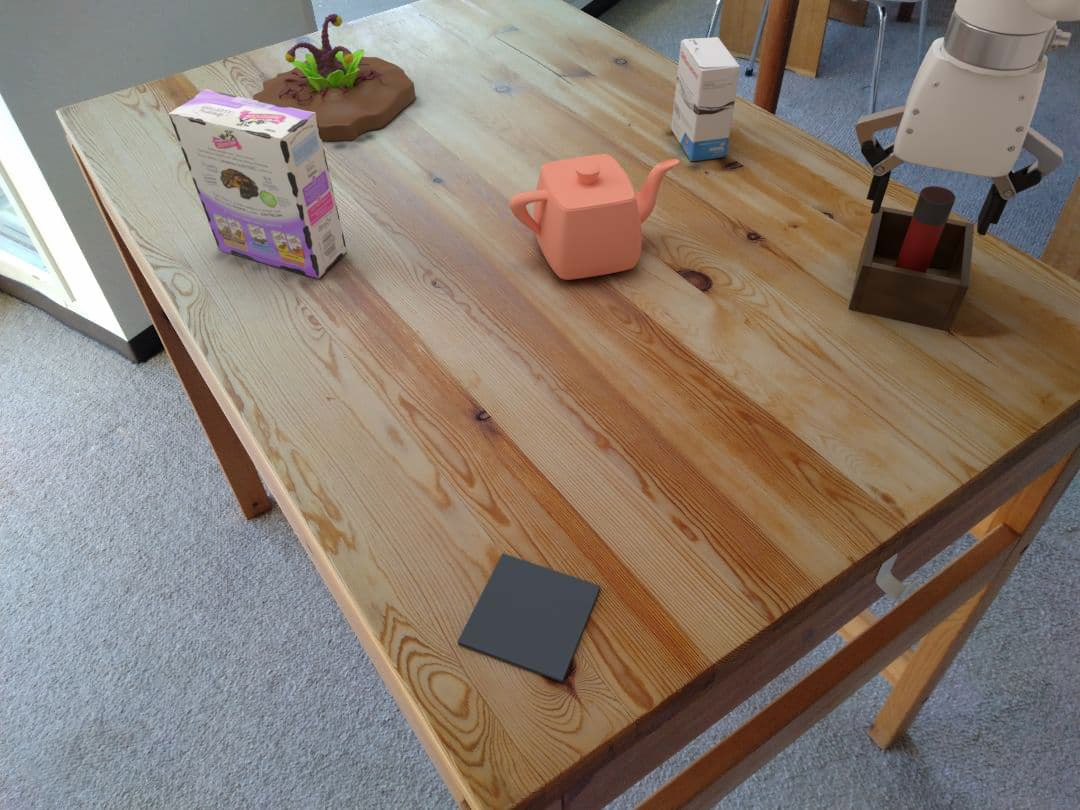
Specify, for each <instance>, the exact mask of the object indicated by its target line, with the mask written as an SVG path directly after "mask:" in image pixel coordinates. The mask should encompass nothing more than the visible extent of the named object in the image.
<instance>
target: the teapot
mask: <svg viewBox="0 0 1080 810" xmlns="http://www.w3.org/2000/svg"><path fill="white" fill-rule="evenodd" d="M679 163H680V160H679V159H677V158H671V159H667V160H664V161H661V162H659V163H657V164H656V165H655V166H654V167H653V168H651V171H650V172H649V173H648V176H647V177H646V179H645V182H644V183H643V185H642V187H641V188H640V189H639V190H638V192H635V189H634V186H633V184H632V182H631V180H630V178H629V176H628V174H627V173H626V172H625V170H624V169H623V167H622V166H621V165H620V164H619V163H618V161H617V160H616V159H615V158H614V157H612V156H611V155H610V154H608V153H604V154H603V153H602V154H592V155H585V156H577V157H572V158H566V159H559V160H553V161H549V162H545V163H544V164H542V166H541V168H540V171H539V176H538V180H537V184H536V185H537V186H536V189H535V190H528V191H522V192H519V193H517V194H514V195H513V196H512V197H511V198H510V200H509V209H510V211H511V213H512V214H513V216H514V217H515V218H516V219H517V220H518V221H519V222H520V223H521V224H522V225H524V226H525V227H526V228H527V229H529V230H530V231H532V232H533V233H535V235H536V240H537V243H538V245H539V248H540V250H541V252H542V255H543V256H544V258H545V260H546V262H547V263H548V265H549V267H550V268H551V270H552V271H553V272H554V273H555V275H557V277H559V278H560V279H562V280H565V281H567V280H569V281H571V280H579V279H585V278H593V277H599V276H604V275H611V274H613V273H618V272H619V273H620V272H624V271H628V270H631V269H634V268H635V267H636V266H637V263H638V262H639V260H640V258H641V255H642V247H643V246H642V243H643V235H642V234H643V233H642V224H643V223H645V221H646V220H648V218H649V217H650V216H651V214H652V212H653V211H654V208H655V206H656V203H657V198H658V194H659V191H660V187H661V183H662V181H663V179H664V177H665V176H666V175H667V173H668V172H669V171H671V170H672V169H673V168H674V167H675V166H677V165H678V164H679ZM532 203H533V217H532V215H531V214H530V212H529V211H528V209H527V205H530V204H532Z"/></svg>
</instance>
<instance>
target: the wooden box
mask: <svg viewBox="0 0 1080 810" xmlns="http://www.w3.org/2000/svg"><path fill="white" fill-rule="evenodd" d="M913 212H914V211H908V210H903V209H897V208H893V207H887V206H882V205H881V207H880V210H879V213H876V214H872V217H871V220H870V223H869V225H868V229H867V233H866V235H865V239H864V242H863V245H862V249H861V253H860V258H859V261H858V265H857V270H856V274H855V279H854V283H853V287H852V291H851V296H850V300H849V305H848V310H852V311H856V312H860V313H865V314H869V315H872V316H873V315H874V316H878V317H882V318H888V319H890V320H891V319H892V320H897V321H901V322H906V323H910V324H914V325H918V326H923V327H927V328H931V329H932V328H933V329H937V330H942V331H948V332H950V331H951V330H952V328H953V325H954V322H955V321H956V318H957V316H958V314H959V311H960V310H961V307H962V305H963V303H964V301H965V298H966V295H967V293H968V290H969V289H970V281H971V271H972V270H971V269H972V259H973V258H972V257H973V247H974V235H975V223H971V222H967V221H962V220H957V219H951V218H948V220H947V222H946V223H945V226H944V228H943V231H942V234H941V236H940V239H939V241H938V244H937V246H936V249H935V252H934V254H933V257H932V259H931V262H930V264H929V267H930V268H935V269H940V270H946V271H947V274H946V275H947V276H942V275H937V274H932V273H927V272H926V273H923V272H918V271H913V270H908V269H903V268H898V267H895V265H888V264H883V263H878V262H873V261H874V260H873V258H874V256H876V257H881V258H886V259H891V260H896V261H897V259H898V256H899V253H900V251H901V248H902V245H903V242H904V239H905V236H906V234H907V231H908V228H909V225H910V222H911V219H912V217H913Z"/></svg>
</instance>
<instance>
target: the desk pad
mask: <svg viewBox="0 0 1080 810" xmlns="http://www.w3.org/2000/svg"><path fill="white" fill-rule="evenodd" d="M600 590H601V585H600V584H597V583H594V582H590V581H588V580H584V579H582V578H578V577H575V576H572V575H570V574H566V573H563V572H560V571H557V570H555V569H552V568H548V567H545V566H543V565H540V564H536V563H533V562H530V561H527V560H524V559H522V558H518V557H516V556H512V555H509V554H507V553H501V555H500V557H499V559H498V561H497V563H496V564H495V567H494V569H493V571H492V573H491V575H490V576H489V579H488V581H487V582H486V585H485V587H484V588H483V591H482V592H481V594H480V596H479V598H478V601H477V602H476V604H475V606H474V608H473V610H472V612H471V614H470V616H469V618H468V620H467V622H466V624H465V626H464V627H463V630H462V632H461V634H460V636H459V638H458V639H457V644H458V645H459V646H462V647H465V648H467V649H470V650H473V651H475V652H478V653H480V654H482V655H485V656H486V655H487V656H489V657H492V658H493V659H497V660H500V661H502V662H505V663H507V664H511V665H513V666H516V667H518V668H521V669H524V670H527V671H530V672H531V673H535V674H538V675H541V676H543V677H546V678H549V679H551V680H554V681H557V682H559V683H564V680H565V678H566V676H567V673H568V671H569V668H570V665H571V663H572V660H573V658H574V655H575V653H576V651H577V648H578V645H579V643H580V641H581V638H582V635H583V633H584V630H585V628H586V626H587V623H588V620H589V618H590V615H591V613H592V611H593V609H594V606H595V603H596V600H597V598H598V595H599V593H600Z"/></svg>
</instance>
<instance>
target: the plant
mask: <svg viewBox="0 0 1080 810" xmlns="http://www.w3.org/2000/svg"><path fill="white" fill-rule="evenodd" d="M329 23H331V25H332V26H334V27H340V26H342V24H343V18H342V16H340V15H339V14H337V13H330V14H328V15H327V16H325V18H324V21H323V24H322V25H321V27H322V30H321V35H320V39H321V46H319V48H318V47H317V46H315V45H313V44H312V43H310V42H302V41H300V42H297V43H296V44H294V46H292V47H291V48H290V49H289V50H288V51H286V53H285V60H286V61H287V62H288V63H289V64H290V65H291V66H293V67H294V68H292V69H291V70H288V71H285V72H279V73H277V74H276V76H275V77H272V78H270V79H268V80H265V81H263V82H262V87H263V90H261V91H258V92H257V93H254V94H253V95H252V96H253V97H252V100H257V101H261V102H266V103H270V104H275V105H280V106H285V107H289V108H295V109H300V110H304V111H309V112H315V113H316V117H317V121H318V125H319V130H320V134H321V139H322V141H325V142H334V141H349V142H350V141H353V140H355V139H356V138H357V137H358V136H359V135H360V134H363V133H366V132H368V131H373V130H380V129H382V128H384V127H386V125H388V124H389V123H390V122H391V121H392V120H393V119H394V118H395V117H396V116H397V115H398V114H399V113H400V112H402V111H403V110H404V109H405V108H407V107H408V106H409V105H410V104H411V103H413V102H414V101H415V100H416V90H415V89H416V88H415V83H414V81H413V80H411V78H410V77H409V76H408V75H407V74H406V72H405V70H404V69H403V68H402V67H400V66H399V65H397V64H395V63H393V62H390V61H387V60H385V59H383V58H380V57H377V56H364V55H365V49H358V50H356V51H354V52H352V51H350V49H349V48H347V47H345V46H342V45H337V46H334V48H332V45H331V43H330V39H329V38H330V36H329ZM302 48H304V49H307V50H308V51H309V53H305V54H304V58H305V60H304V61H301V60H296V57H297V56H296V50H297V49H302ZM310 53H311V54H310Z"/></svg>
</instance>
